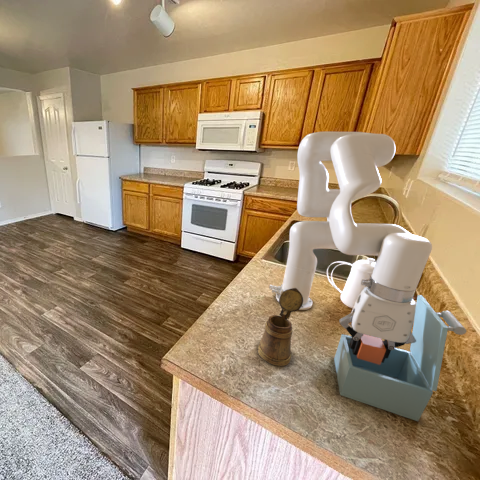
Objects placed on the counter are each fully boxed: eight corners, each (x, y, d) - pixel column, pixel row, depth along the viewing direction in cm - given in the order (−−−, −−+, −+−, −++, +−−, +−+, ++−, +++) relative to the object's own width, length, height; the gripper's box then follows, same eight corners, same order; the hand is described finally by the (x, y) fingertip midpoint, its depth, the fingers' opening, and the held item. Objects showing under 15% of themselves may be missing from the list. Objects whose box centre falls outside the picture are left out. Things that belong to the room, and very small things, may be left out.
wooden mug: (300, 345, 79) (313, 293, 73) (283, 371, 70) (296, 315, 64) (271, 331, 85) (280, 282, 79) (252, 353, 76) (260, 300, 70)
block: (357, 358, 63) (362, 343, 62) (353, 346, 67) (358, 331, 65) (380, 365, 61) (386, 349, 60) (375, 352, 65) (381, 337, 64)
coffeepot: (400, 327, 87) (420, 277, 80) (317, 296, 104) (328, 253, 97) (403, 313, 94) (422, 265, 87) (325, 286, 111) (336, 245, 104)
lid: (442, 327, 50) (478, 331, 48) (417, 294, 61) (446, 296, 59) (431, 390, 55) (464, 396, 53) (409, 350, 65) (436, 353, 63)
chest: (340, 395, 64) (349, 367, 61) (334, 358, 74) (341, 333, 71) (418, 421, 58) (433, 392, 55) (399, 378, 68) (411, 351, 65)
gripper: (346, 288, 58) (327, 353, 64) (450, 309, 51) (417, 379, 58) (342, 274, 64) (325, 334, 71) (433, 290, 57) (405, 355, 64)
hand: (366, 354), depth 64 cm, fingers closed on block, 4 cm apart
